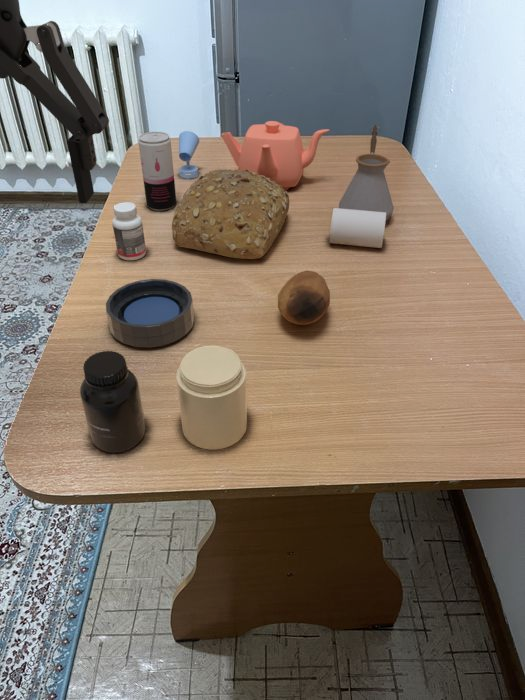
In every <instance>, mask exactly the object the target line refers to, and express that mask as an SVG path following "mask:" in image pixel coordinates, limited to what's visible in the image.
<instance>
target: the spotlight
mask: <svg viewBox="0 0 525 700" xmlns="http://www.w3.org/2000/svg"><path fill="white" fill-rule="evenodd" d="M199 144H200V137H199V136H198V135H197V134H196V133H194V132H193V131H191V130H184V131H181V132H180V133H179V135H178V158H179V159H180V161H183V162H186V163H185V165H182V166H180V167H179V169H178V170H179V171H180V172H179V177H180V178H182V179H186V180H187V179H188V180H189V179H194V178H197V177H199V168H198V166H196V165H193V164H190V163H191V160H192V158H193V157H194V154H195V152H196V150H197V148H198V146H199ZM181 173H183V174H181ZM194 173H195V174H194ZM185 174H191V175H185Z"/></svg>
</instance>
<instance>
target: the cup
mask: <svg viewBox="0 0 525 700" xmlns="http://www.w3.org/2000/svg"><path fill="white" fill-rule="evenodd" d="M386 221H387V220H386V212H375V211H363V210H352V209H341V208H339V207H334V208H333V209H332V215H331V222H330V232H329V244H334V245H335V244H336V245H344V246H345V245H346V246H357V247H366V248H375V249H382V247H383V242H384V235H385V228H386Z"/></svg>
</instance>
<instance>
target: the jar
mask: <svg viewBox="0 0 525 700" xmlns="http://www.w3.org/2000/svg"><path fill="white" fill-rule="evenodd" d="M175 378H176V379H175V380H176V385H177V386H176V387H177V396H178V403H179V412H180V413H179V414H180V420H181V428H182V434H183V436H184V437H185V439H186V440H187V441H188V442H189V443H190V444H191V445H193V446H195V447H197V448H200V449H204V450H222V449H225V448H229V447H231V446H234V444H236V443H239V441H240V440H241V439H242V438H243V437H244V435H245V434H246V432H247V427H248V412H247V411H248V409H247V408H248V407H247V406H248V405H247V400H248V399H247V370H246V366H245V365H244V364H243V362H242V361H241V358H240V356H239V355H238V354H237V353H236V352H235V351H233V350H232V349H230V348H228V347H226V346H221V345H214V344H213V345H211V344H210V345H203V346H199V347H195V348H194V349H192V350H190V351H188V352H187V353H186V354H184V356H183V357H182V359H181V361H180V364H179V366H178V368H177V370H176V374H175Z"/></svg>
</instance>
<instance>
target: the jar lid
mask: <svg viewBox="0 0 525 700" xmlns="http://www.w3.org/2000/svg"><path fill="white" fill-rule="evenodd" d="M179 314H180V310H179V306H178V305H177V304H176V303H175V302H174V301H172V300H170V299H167V298H163V297H148V298H143V299H140V300H137V301H135V302H133V303H132V304H130V305H129V306H128V307H127V308H126V310H125V312H124V319H125V322H127V323H131V324H139V325H149V324H157V323H161V322H164V321H167V320H170V319H172V318H174V317H176V316H177V315H179Z"/></svg>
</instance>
